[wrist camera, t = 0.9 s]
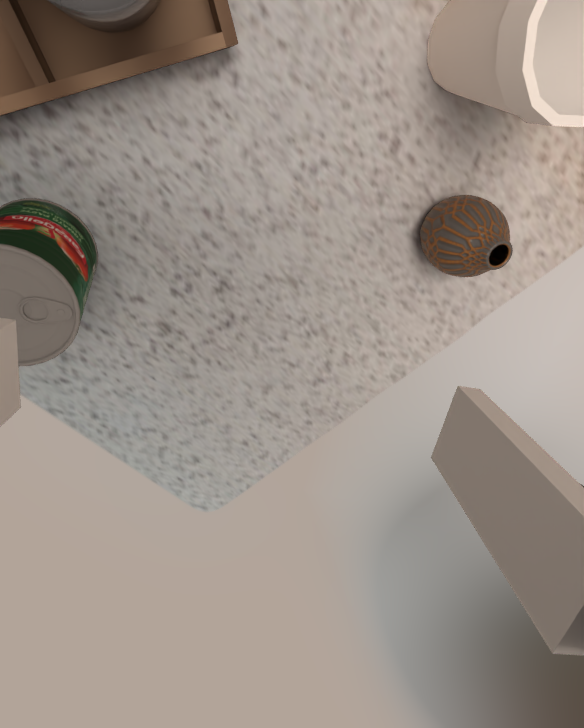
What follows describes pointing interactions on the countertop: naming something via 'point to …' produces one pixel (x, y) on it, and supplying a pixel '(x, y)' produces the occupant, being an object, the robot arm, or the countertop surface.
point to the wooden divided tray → (98, 47)
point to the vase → (466, 236)
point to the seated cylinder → (108, 13)
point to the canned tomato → (44, 275)
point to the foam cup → (513, 56)
